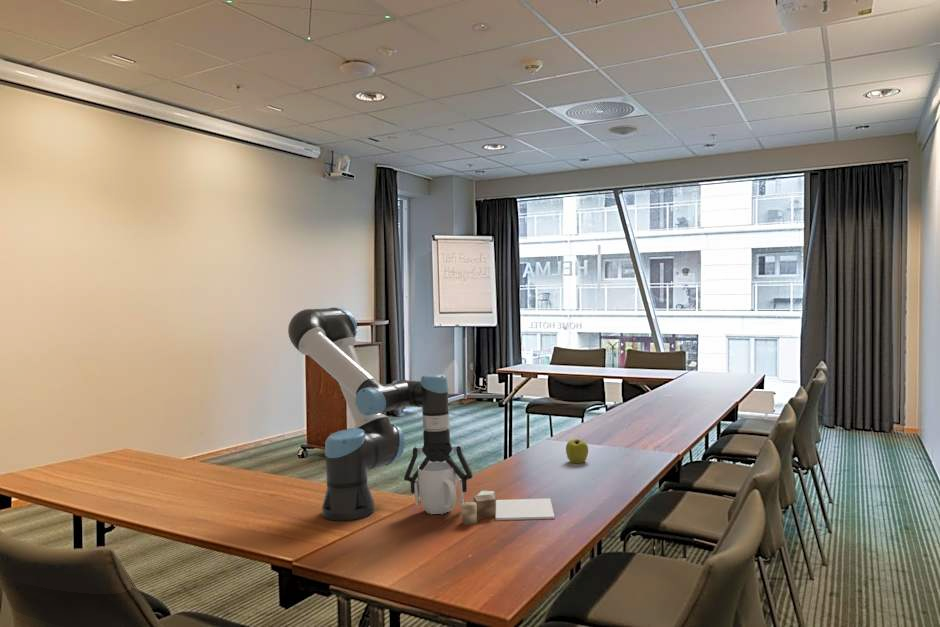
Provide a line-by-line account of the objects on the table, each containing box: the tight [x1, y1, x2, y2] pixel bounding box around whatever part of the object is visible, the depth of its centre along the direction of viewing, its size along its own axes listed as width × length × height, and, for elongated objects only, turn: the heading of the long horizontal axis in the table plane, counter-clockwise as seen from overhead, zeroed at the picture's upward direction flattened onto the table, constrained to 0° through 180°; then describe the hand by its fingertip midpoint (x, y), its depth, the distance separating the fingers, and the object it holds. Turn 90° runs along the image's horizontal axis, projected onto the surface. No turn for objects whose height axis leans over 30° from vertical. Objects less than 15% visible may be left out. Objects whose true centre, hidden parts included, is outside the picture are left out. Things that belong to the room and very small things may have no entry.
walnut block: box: [473, 494, 496, 520], centre depth 181 cm, size 5×5×5 cm
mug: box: [416, 461, 458, 515], centre depth 184 cm, size 15×11×13 cm
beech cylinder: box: [461, 501, 478, 526], centre depth 175 cm, size 4×4×5 cm
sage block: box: [476, 490, 496, 500], centre depth 188 cm, size 4×6×4 cm, turn 163°
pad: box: [495, 497, 555, 521], centre depth 184 cm, size 16×16×1 cm
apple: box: [565, 436, 589, 464], centre depth 234 cm, size 8×8×10 cm
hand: (439, 503), depth 185 cm, fingers open, 12 cm apart
